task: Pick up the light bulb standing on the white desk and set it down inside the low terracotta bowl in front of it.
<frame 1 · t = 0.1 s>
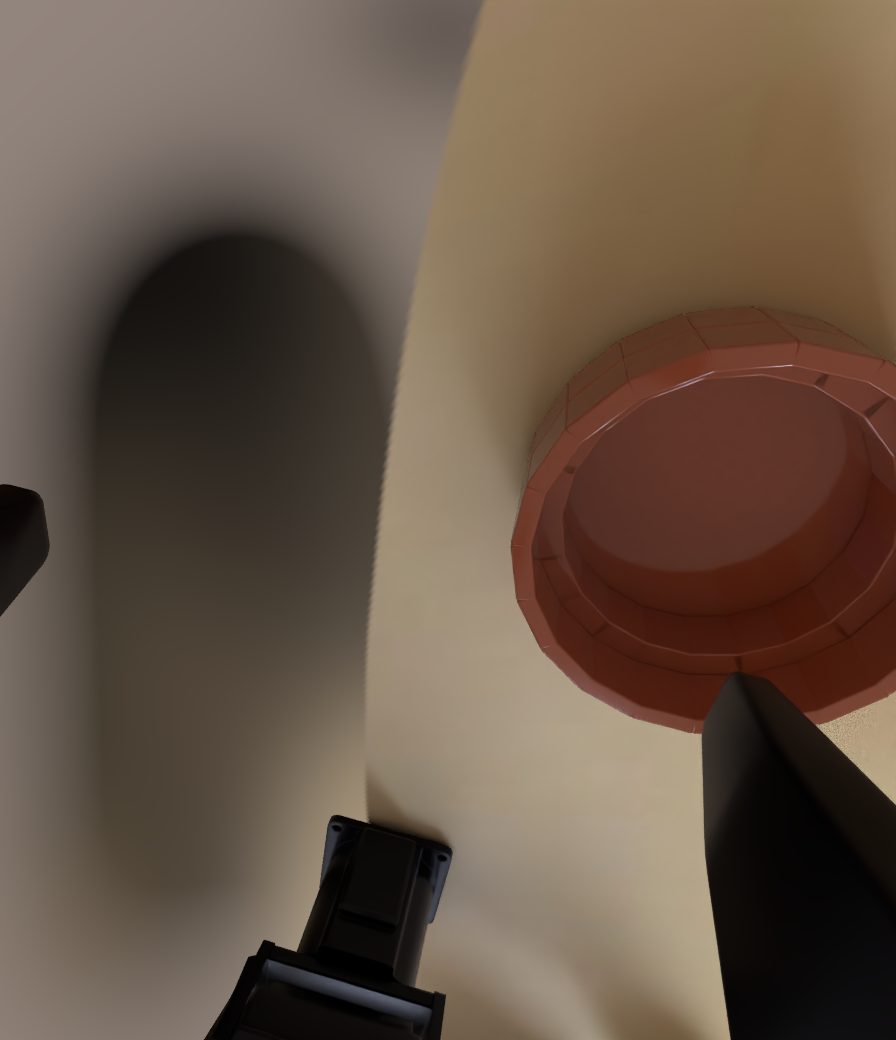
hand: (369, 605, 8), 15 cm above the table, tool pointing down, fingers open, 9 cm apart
bowl: (706, 491, 22), on the table
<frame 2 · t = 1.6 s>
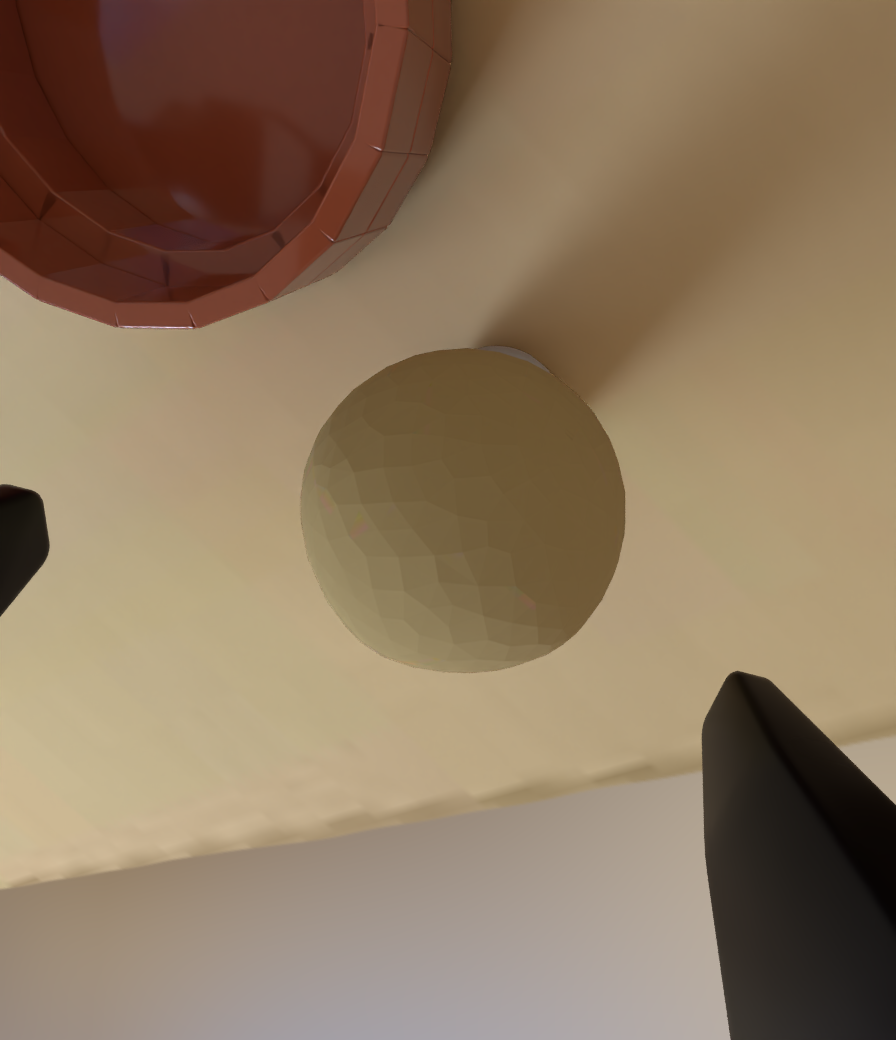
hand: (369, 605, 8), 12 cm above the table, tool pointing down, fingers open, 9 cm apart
bowl: (211, 33, 16), on the table
light bulb: (499, 402, 19), on the table
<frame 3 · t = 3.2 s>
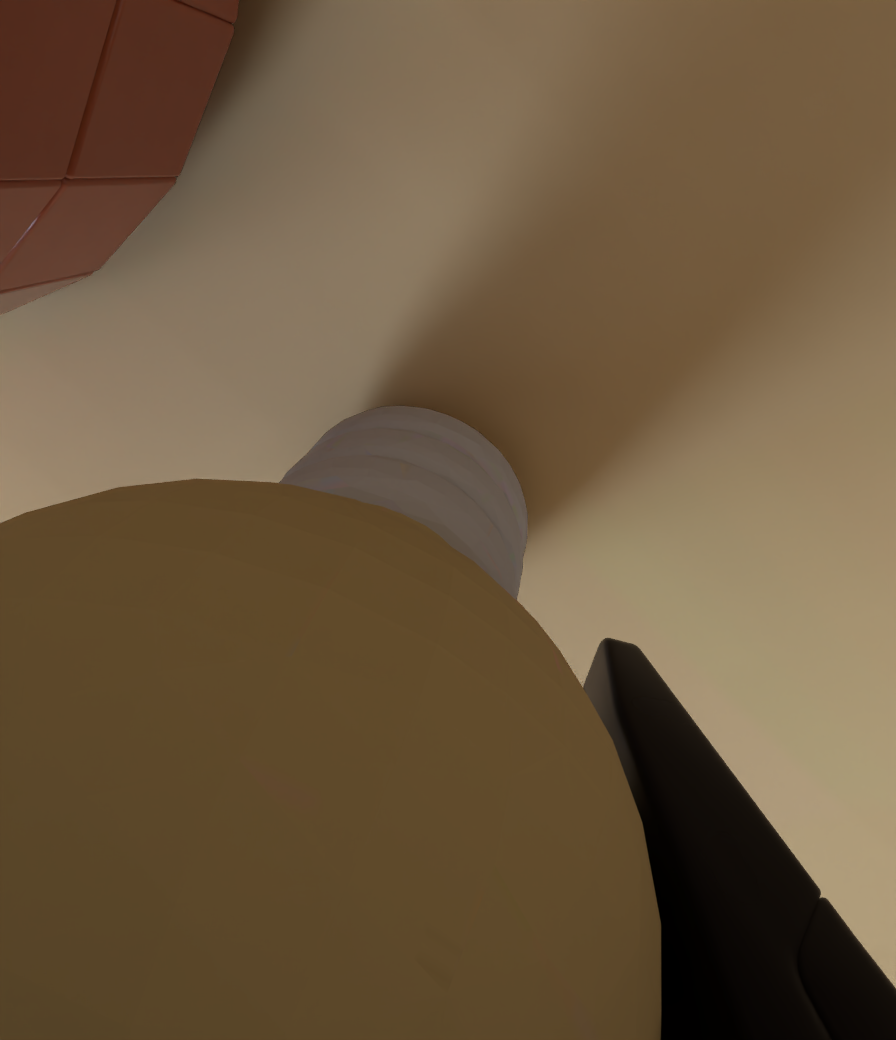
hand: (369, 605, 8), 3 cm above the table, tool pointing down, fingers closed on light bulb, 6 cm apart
light bulb: (421, 495, 11), on the table, touching gripper
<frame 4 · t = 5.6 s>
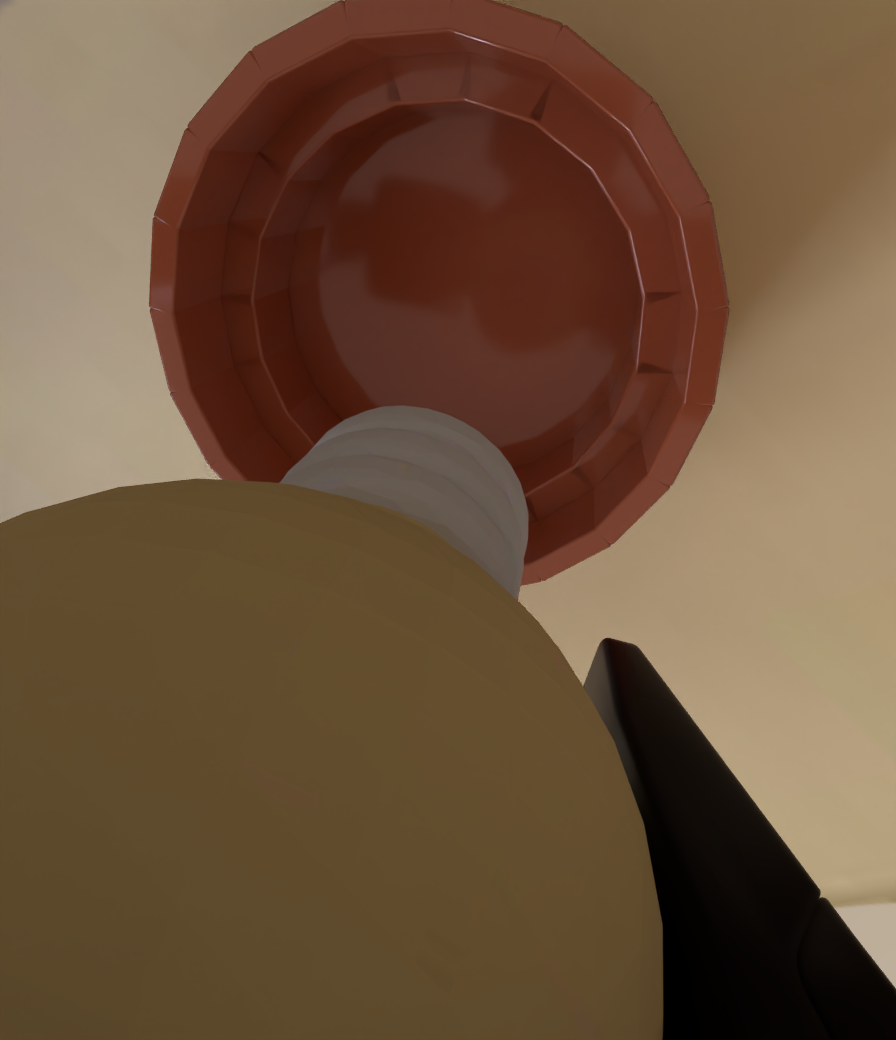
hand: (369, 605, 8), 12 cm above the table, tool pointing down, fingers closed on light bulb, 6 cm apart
bowl: (458, 310, 18), on the table
light bulb: (422, 495, 11), point 9 cm above the table, touching gripper
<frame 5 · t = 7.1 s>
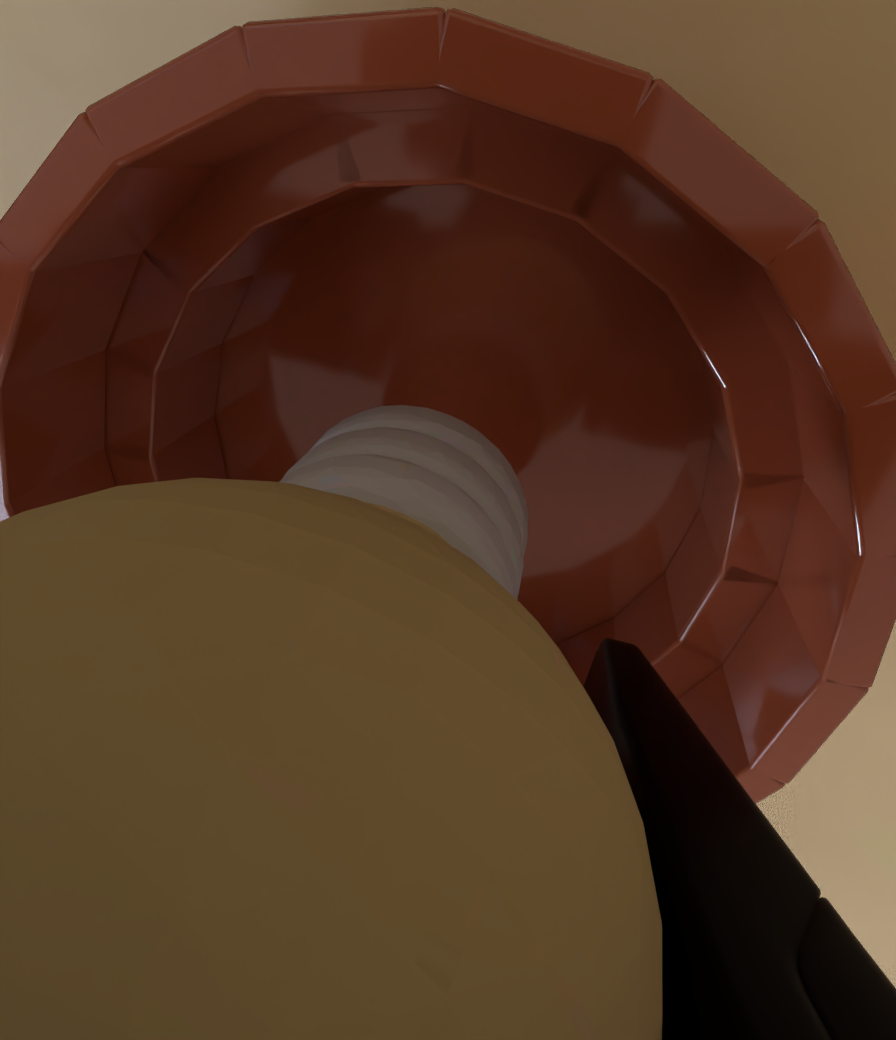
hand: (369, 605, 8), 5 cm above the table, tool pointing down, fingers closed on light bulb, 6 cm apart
bowl: (454, 446, 13), on the table
light bulb: (421, 495, 11), point 2 cm above the table, touching gripper
when the fingers open (4 cm above the table, at t = 8.2 s): light bulb stays where it is, resting on bowl.
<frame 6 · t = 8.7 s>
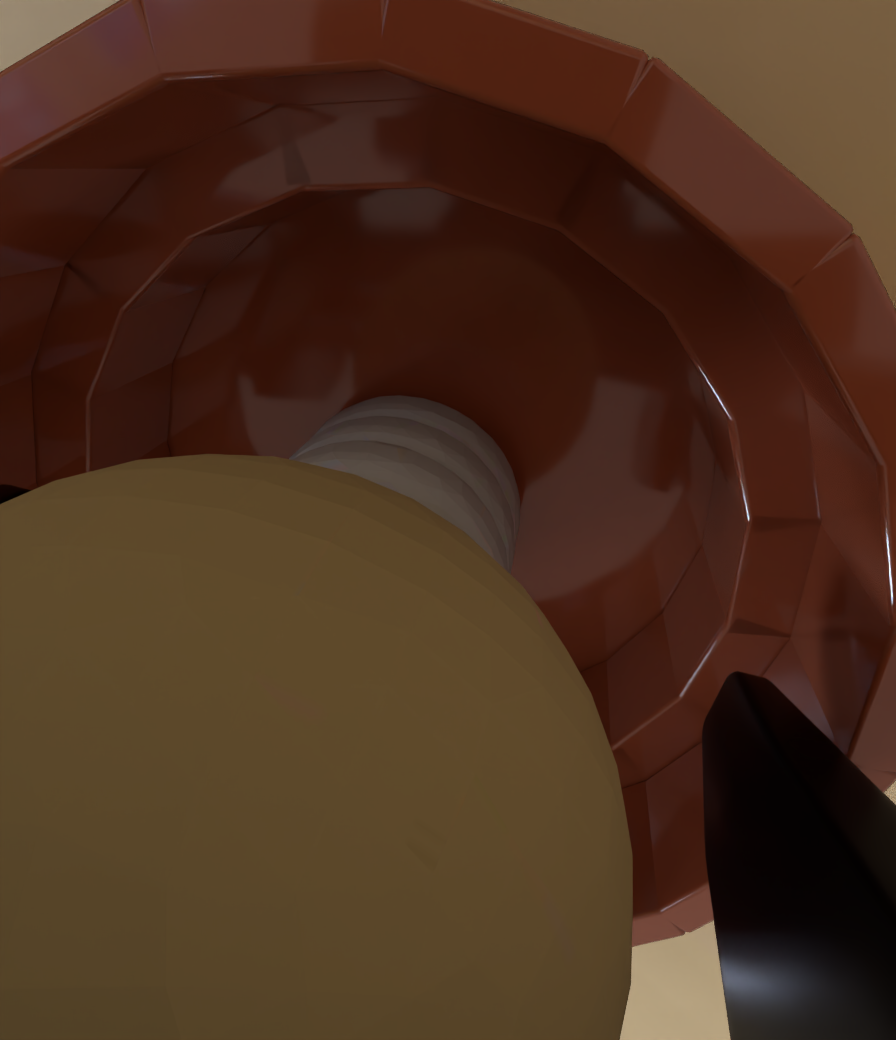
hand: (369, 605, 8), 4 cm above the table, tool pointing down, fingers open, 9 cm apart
bowl: (431, 474, 12), on the table
light bulb: (418, 483, 12), resting on bowl
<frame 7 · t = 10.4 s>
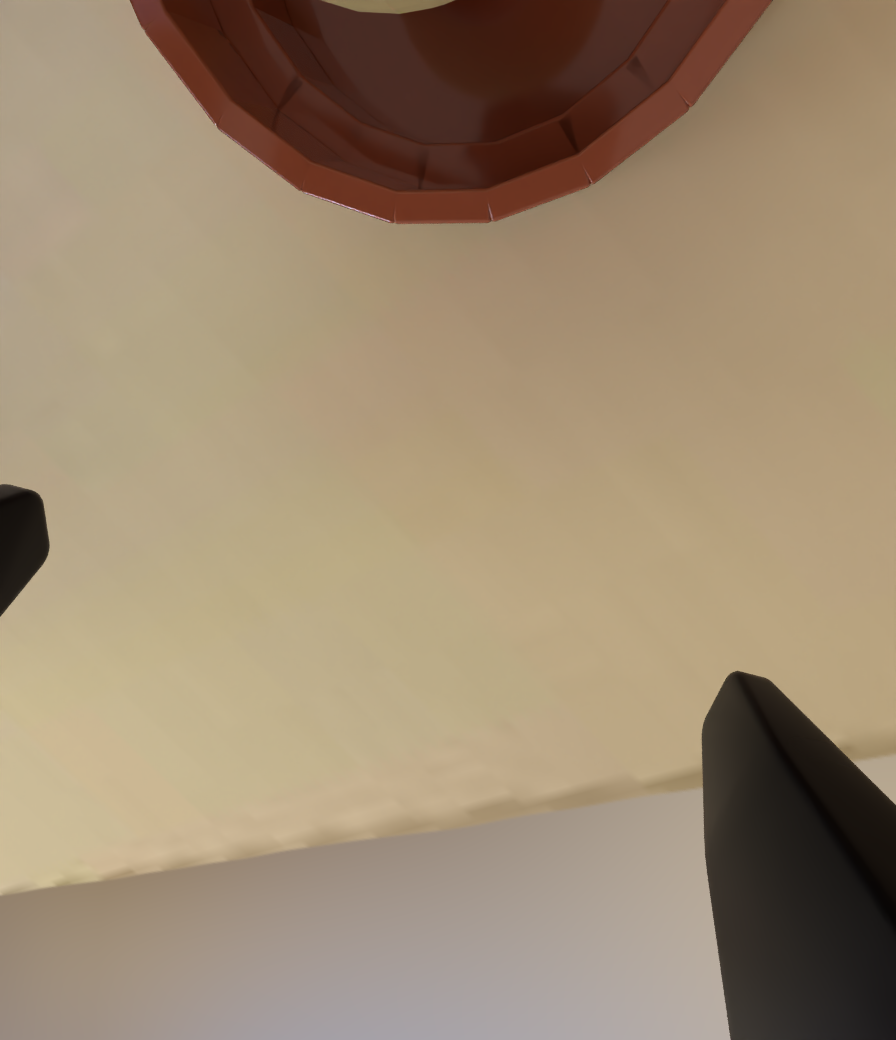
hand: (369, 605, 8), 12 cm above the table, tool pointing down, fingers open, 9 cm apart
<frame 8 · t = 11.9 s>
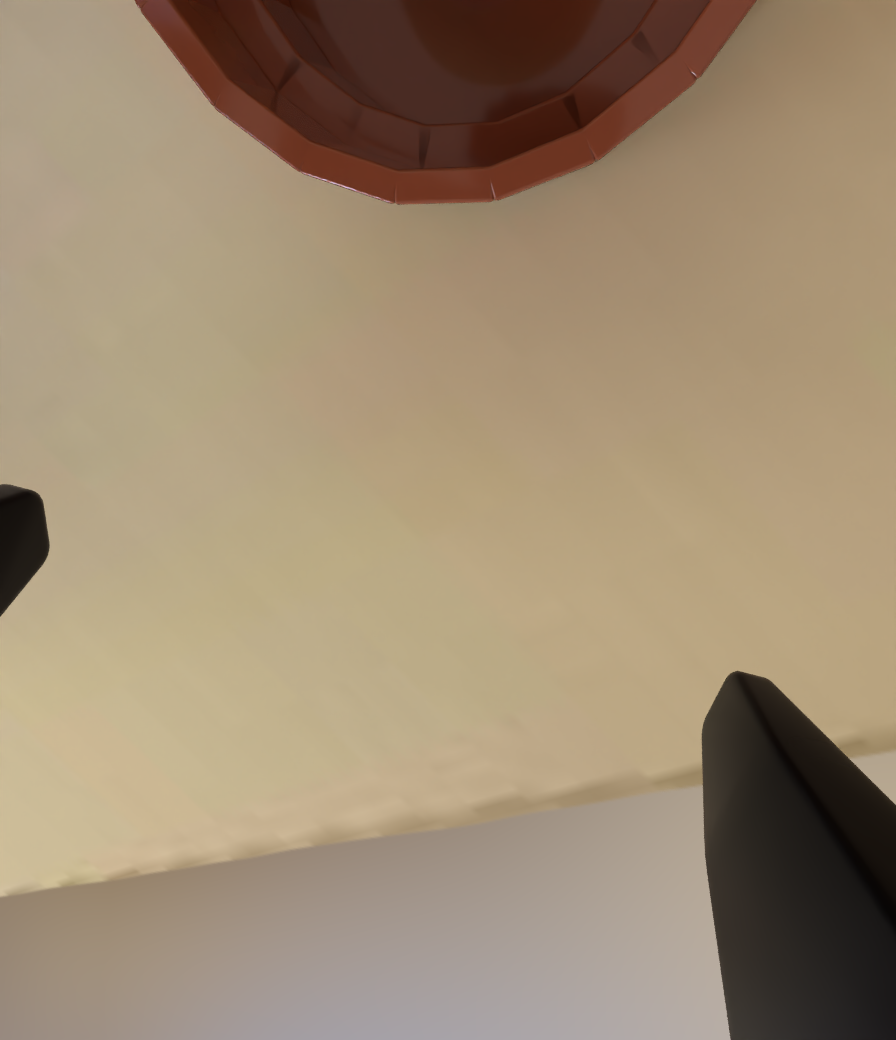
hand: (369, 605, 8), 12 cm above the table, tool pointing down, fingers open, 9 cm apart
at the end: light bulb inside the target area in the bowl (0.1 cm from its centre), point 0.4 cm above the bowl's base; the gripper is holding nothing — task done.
